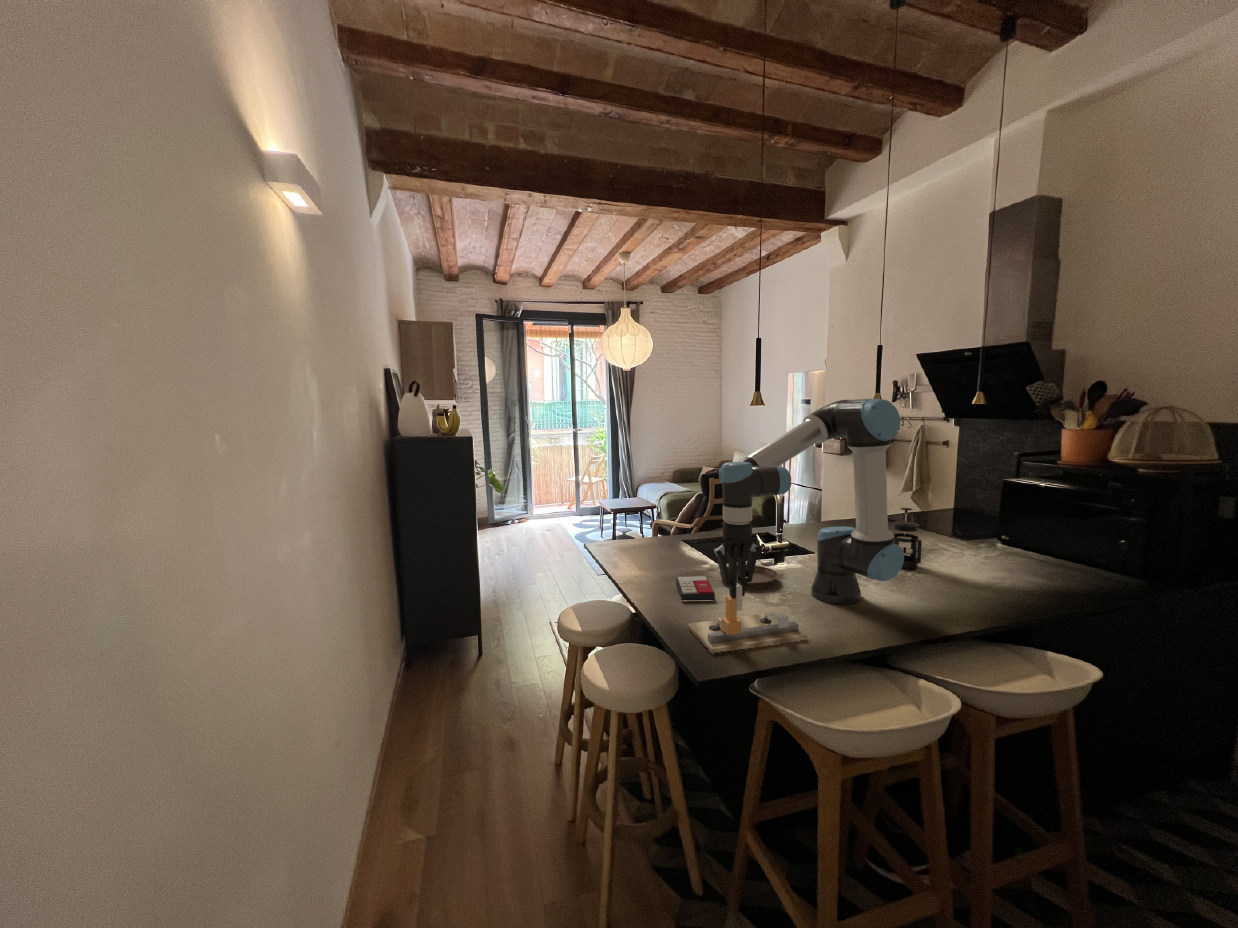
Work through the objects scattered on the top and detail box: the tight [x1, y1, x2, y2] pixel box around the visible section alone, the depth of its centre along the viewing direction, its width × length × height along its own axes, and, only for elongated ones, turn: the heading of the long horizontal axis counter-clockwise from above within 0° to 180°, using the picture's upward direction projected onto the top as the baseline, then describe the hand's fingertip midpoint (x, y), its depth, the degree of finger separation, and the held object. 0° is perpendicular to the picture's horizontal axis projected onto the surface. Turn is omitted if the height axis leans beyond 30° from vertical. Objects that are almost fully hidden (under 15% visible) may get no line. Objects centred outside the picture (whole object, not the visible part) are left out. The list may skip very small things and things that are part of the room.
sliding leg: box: [716, 595, 741, 635], centre depth 136 cm, size 4×10×11 cm, turn 14°
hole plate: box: [687, 611, 808, 653], centre depth 140 cm, size 28×16×2 cm, turn 104°
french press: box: [892, 507, 923, 571], centre depth 193 cm, size 12×9×23 cm
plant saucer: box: [719, 565, 779, 589], centre depth 183 cm, size 21×21×3 cm
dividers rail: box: [708, 611, 800, 644], centre depth 138 cm, size 26×10×5 cm, turn 104°
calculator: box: [675, 575, 716, 601], centre depth 172 cm, size 11×4×15 cm
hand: (737, 608), depth 133 cm, fingers closed
